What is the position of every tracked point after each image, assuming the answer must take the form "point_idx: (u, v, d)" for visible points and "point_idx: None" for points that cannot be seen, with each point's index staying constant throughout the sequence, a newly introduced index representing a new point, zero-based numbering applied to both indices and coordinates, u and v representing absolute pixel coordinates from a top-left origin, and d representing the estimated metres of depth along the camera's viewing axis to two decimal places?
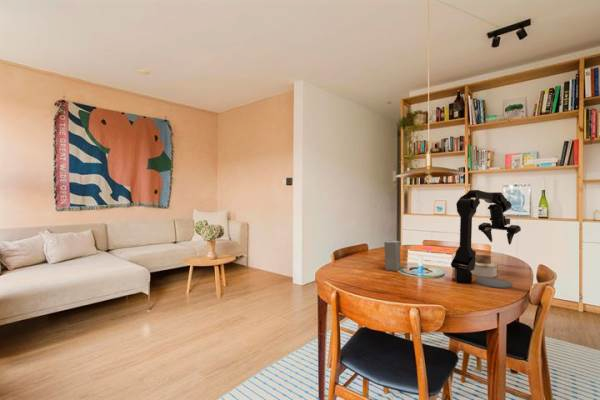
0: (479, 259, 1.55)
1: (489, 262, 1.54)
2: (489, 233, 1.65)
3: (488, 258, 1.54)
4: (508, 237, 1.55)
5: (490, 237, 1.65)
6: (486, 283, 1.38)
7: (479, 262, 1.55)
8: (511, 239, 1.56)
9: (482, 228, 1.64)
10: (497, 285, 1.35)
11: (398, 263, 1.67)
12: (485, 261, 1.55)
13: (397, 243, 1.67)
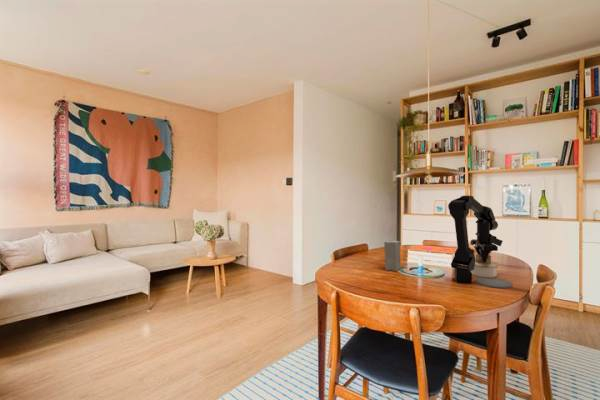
0: (479, 259, 1.55)
1: (489, 262, 1.54)
2: None
3: (488, 258, 1.54)
4: (480, 253, 1.54)
5: None
6: (486, 283, 1.38)
7: (479, 262, 1.55)
8: (485, 257, 1.54)
9: (471, 242, 1.63)
10: (497, 285, 1.35)
11: (398, 263, 1.67)
12: None
13: (397, 243, 1.67)
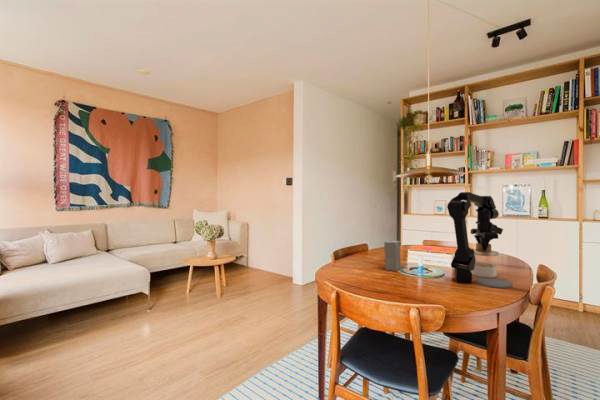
0: (479, 248, 1.54)
1: (489, 251, 1.54)
2: None
3: (488, 246, 1.54)
4: (480, 241, 1.53)
5: None
6: (486, 283, 1.38)
7: (479, 251, 1.54)
8: (486, 245, 1.53)
9: (472, 231, 1.62)
10: (497, 285, 1.35)
11: (398, 263, 1.67)
12: None
13: (397, 243, 1.67)
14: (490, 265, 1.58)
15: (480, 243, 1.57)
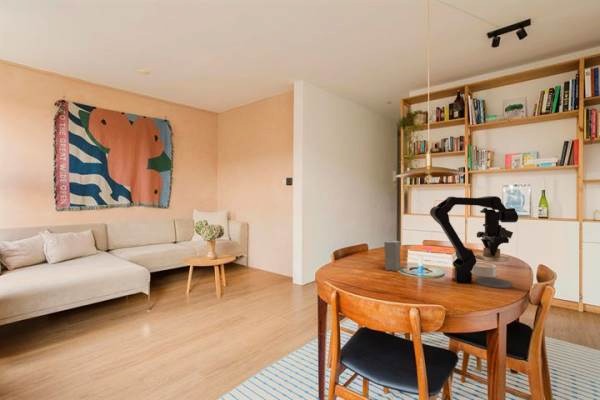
0: (487, 253, 1.42)
1: (498, 256, 1.41)
2: None
3: (497, 251, 1.41)
4: (489, 246, 1.41)
5: None
6: (486, 283, 1.38)
7: (487, 256, 1.42)
8: (494, 250, 1.40)
9: (478, 235, 1.50)
10: (497, 285, 1.35)
11: (398, 263, 1.67)
12: None
13: (397, 243, 1.67)
14: (490, 265, 1.58)
15: None
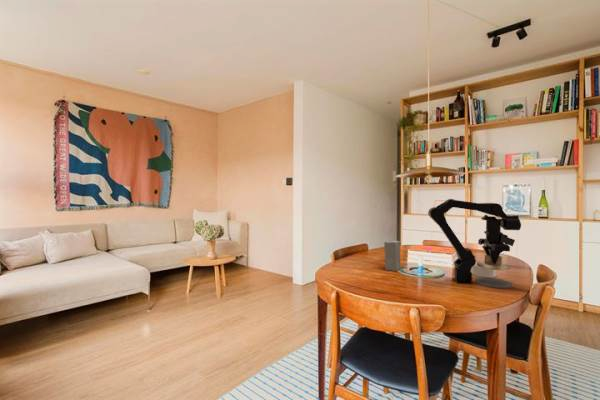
0: (489, 260, 1.40)
1: (500, 264, 1.39)
2: None
3: (499, 259, 1.39)
4: (490, 253, 1.39)
5: None
6: (486, 283, 1.38)
7: (489, 264, 1.40)
8: (495, 258, 1.38)
9: (480, 242, 1.48)
10: (497, 285, 1.35)
11: (398, 263, 1.67)
12: None
13: (397, 243, 1.67)
14: None
15: (489, 255, 1.42)
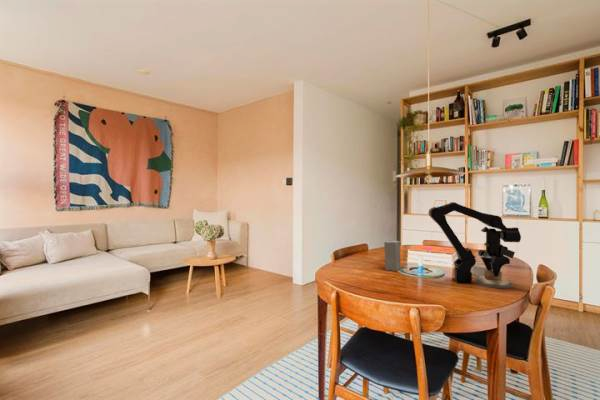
0: (489, 275, 1.40)
1: (500, 279, 1.39)
2: (488, 262, 1.44)
3: (499, 274, 1.39)
4: (491, 266, 1.37)
5: (488, 267, 1.44)
6: None
7: (489, 279, 1.40)
8: (497, 271, 1.37)
9: (480, 253, 1.48)
10: None
11: (398, 263, 1.67)
12: (495, 278, 1.39)
13: (397, 243, 1.67)
14: None
15: (489, 270, 1.42)
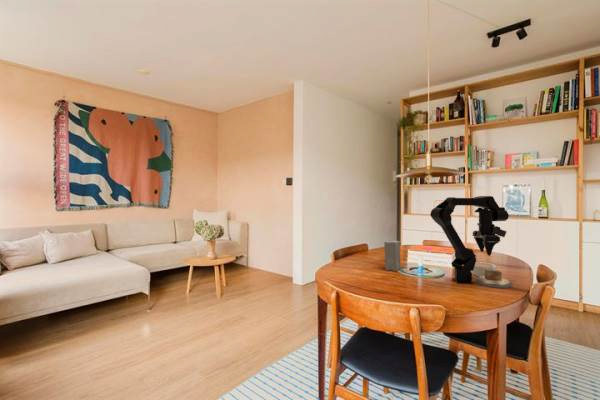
0: (489, 275, 1.40)
1: (500, 279, 1.39)
2: (481, 241, 1.51)
3: (499, 274, 1.39)
4: (484, 245, 1.41)
5: (481, 246, 1.51)
6: None
7: (489, 279, 1.40)
8: (490, 250, 1.41)
9: (473, 234, 1.53)
10: None
11: (398, 263, 1.67)
12: (495, 278, 1.39)
13: (397, 243, 1.67)
14: (490, 265, 1.58)
15: (489, 270, 1.42)
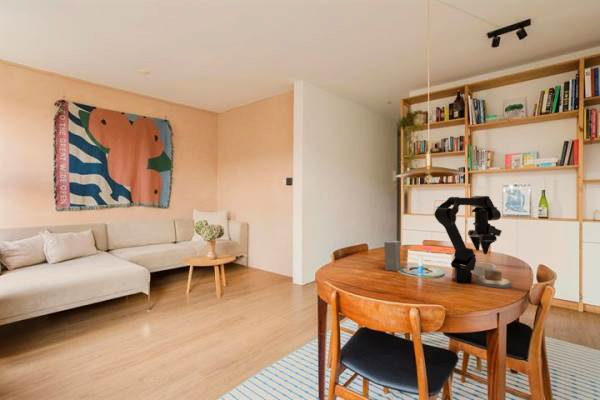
0: (489, 275, 1.40)
1: (500, 279, 1.39)
2: (476, 240, 1.54)
3: (499, 274, 1.39)
4: (481, 244, 1.44)
5: (476, 245, 1.53)
6: None
7: (488, 279, 1.40)
8: (486, 248, 1.43)
9: (469, 233, 1.56)
10: None
11: (398, 263, 1.67)
12: (495, 278, 1.39)
13: (397, 243, 1.67)
14: (490, 265, 1.58)
15: (489, 270, 1.42)
